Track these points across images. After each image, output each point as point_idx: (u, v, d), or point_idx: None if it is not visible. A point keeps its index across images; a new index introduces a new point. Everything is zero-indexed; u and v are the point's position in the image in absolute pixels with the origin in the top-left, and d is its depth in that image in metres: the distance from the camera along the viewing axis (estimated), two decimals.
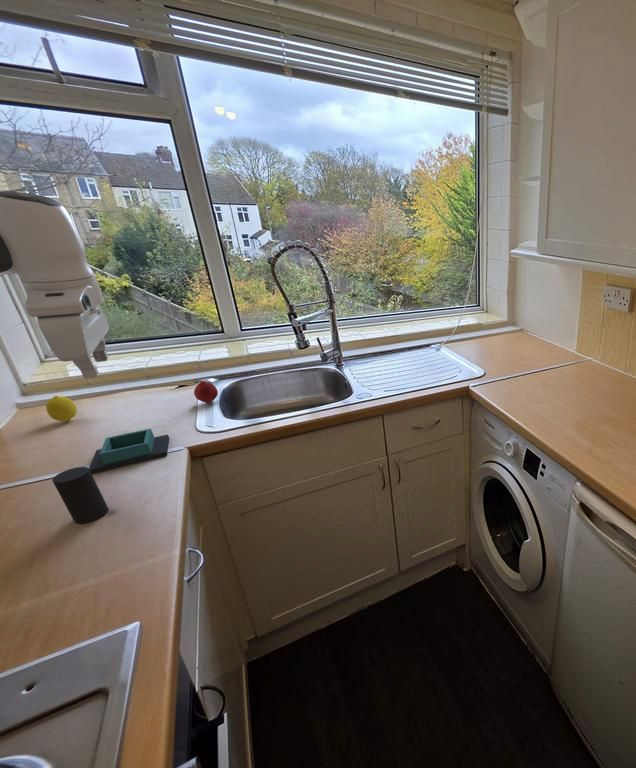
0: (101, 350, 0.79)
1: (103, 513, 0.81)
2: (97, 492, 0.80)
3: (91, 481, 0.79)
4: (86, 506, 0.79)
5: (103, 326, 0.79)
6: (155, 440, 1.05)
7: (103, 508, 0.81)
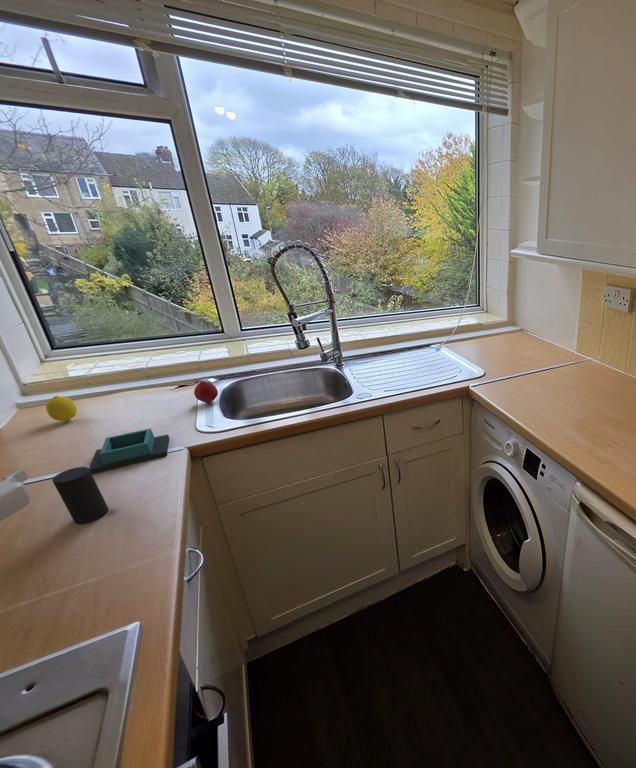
0: None
1: (103, 513, 0.81)
2: (97, 492, 0.80)
3: (91, 481, 0.79)
4: (86, 506, 0.79)
5: None
6: (155, 440, 1.05)
7: (103, 508, 0.81)
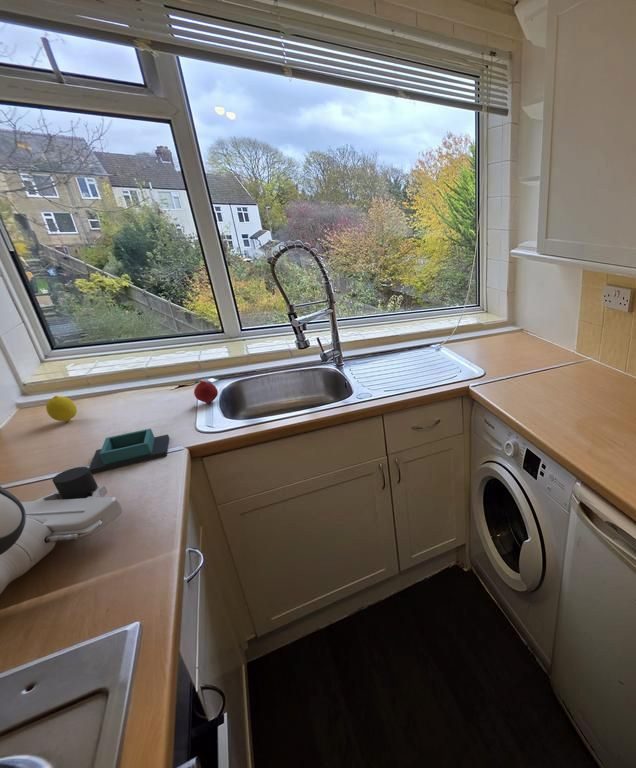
0: None
1: None
2: None
3: (91, 481, 0.79)
4: None
5: None
6: (155, 440, 1.05)
7: None
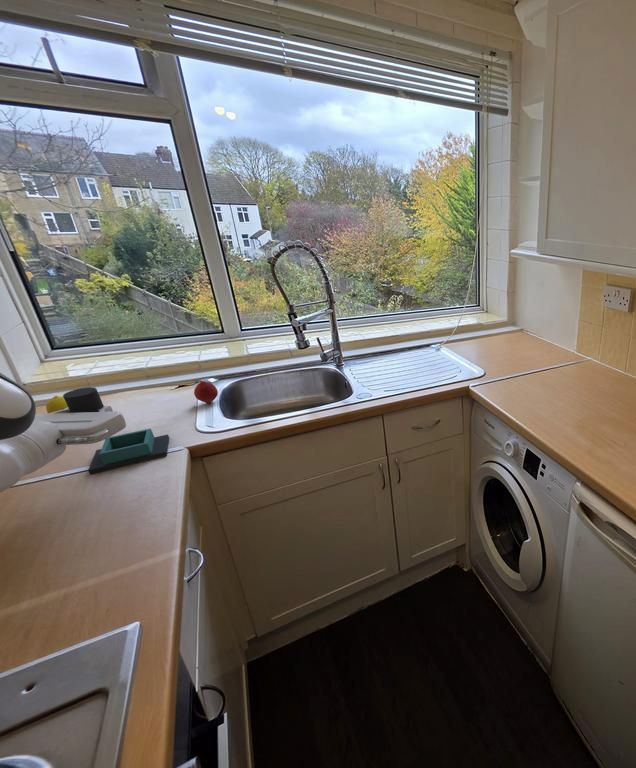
0: None
1: None
2: None
3: (98, 400, 0.86)
4: None
5: None
6: (155, 440, 1.05)
7: None
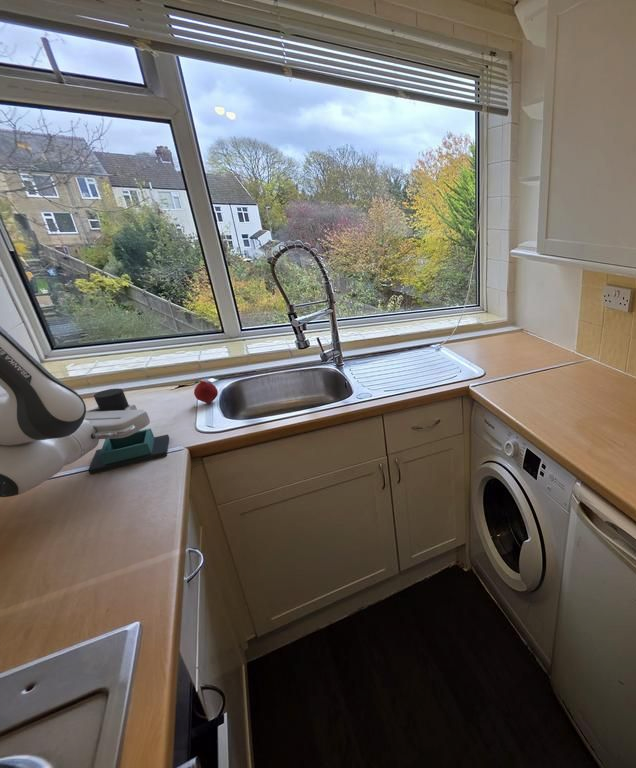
0: None
1: None
2: None
3: (124, 400, 0.96)
4: None
5: None
6: (155, 440, 1.05)
7: None
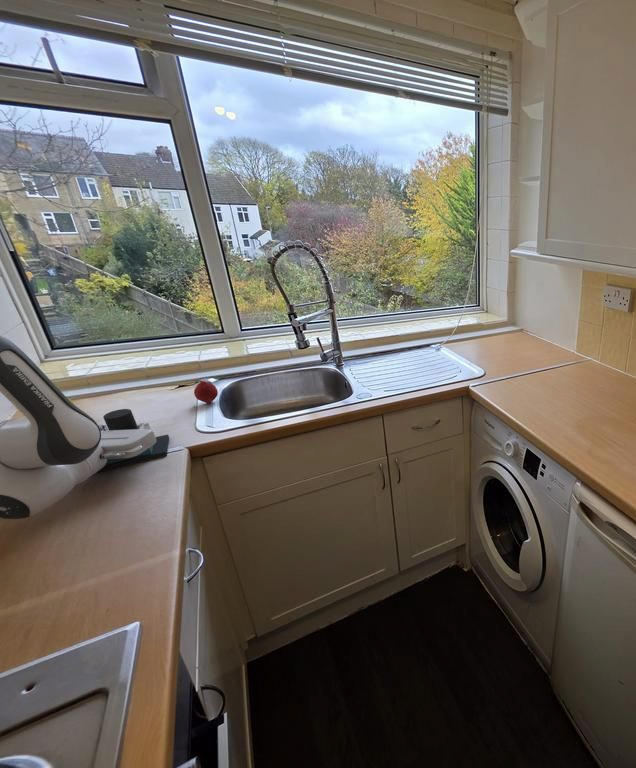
0: None
1: None
2: None
3: (133, 420, 0.99)
4: None
5: None
6: None
7: None
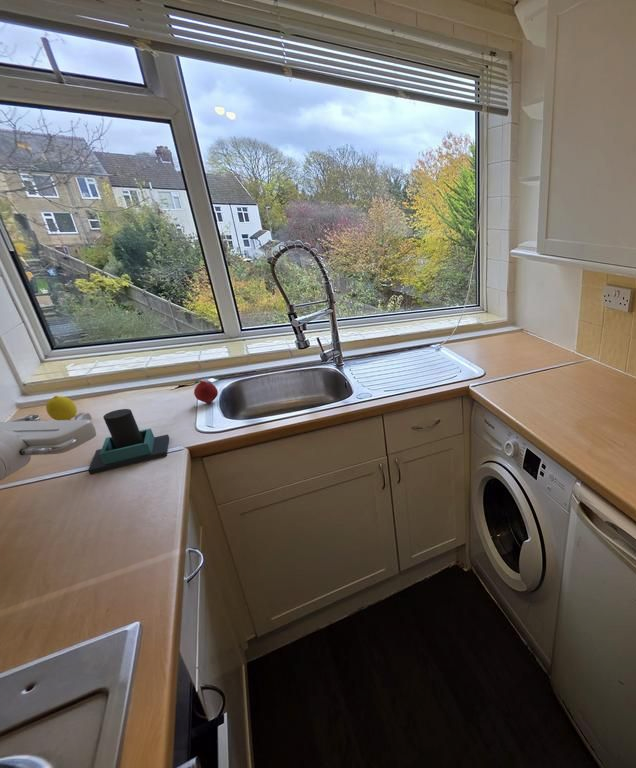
0: None
1: None
2: (137, 429, 1.00)
3: (133, 420, 0.99)
4: (129, 439, 0.98)
5: None
6: (155, 440, 1.05)
7: None
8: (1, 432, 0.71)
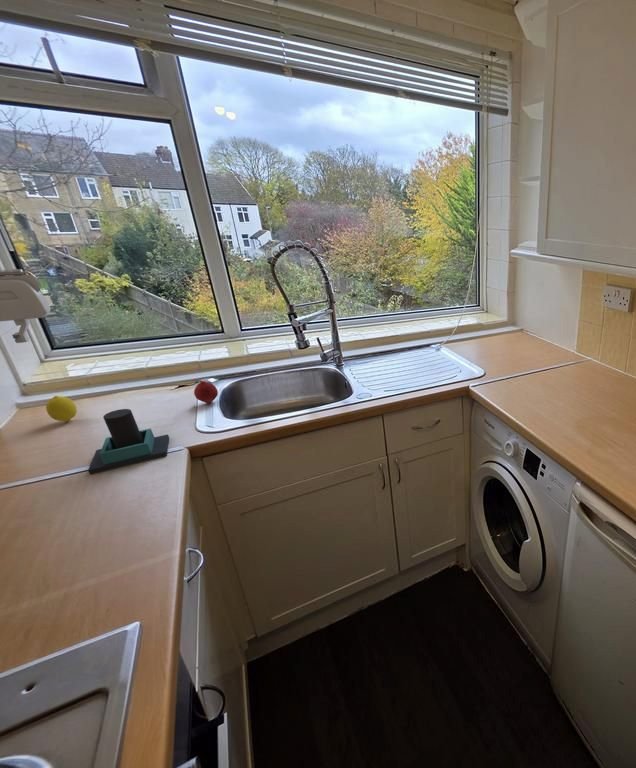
0: None
1: None
2: (137, 429, 1.00)
3: (133, 420, 0.99)
4: (129, 439, 0.98)
5: (10, 311, 0.77)
6: (155, 440, 1.05)
7: None
8: None
